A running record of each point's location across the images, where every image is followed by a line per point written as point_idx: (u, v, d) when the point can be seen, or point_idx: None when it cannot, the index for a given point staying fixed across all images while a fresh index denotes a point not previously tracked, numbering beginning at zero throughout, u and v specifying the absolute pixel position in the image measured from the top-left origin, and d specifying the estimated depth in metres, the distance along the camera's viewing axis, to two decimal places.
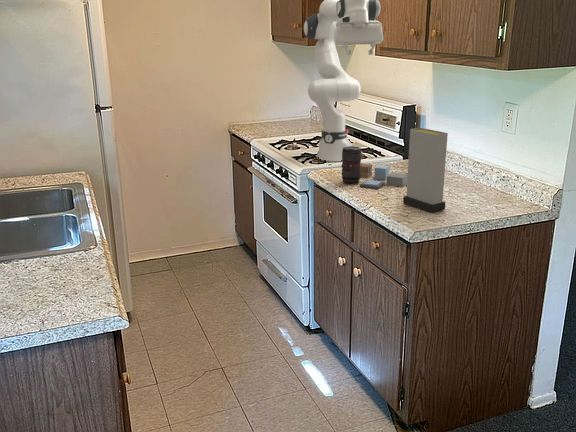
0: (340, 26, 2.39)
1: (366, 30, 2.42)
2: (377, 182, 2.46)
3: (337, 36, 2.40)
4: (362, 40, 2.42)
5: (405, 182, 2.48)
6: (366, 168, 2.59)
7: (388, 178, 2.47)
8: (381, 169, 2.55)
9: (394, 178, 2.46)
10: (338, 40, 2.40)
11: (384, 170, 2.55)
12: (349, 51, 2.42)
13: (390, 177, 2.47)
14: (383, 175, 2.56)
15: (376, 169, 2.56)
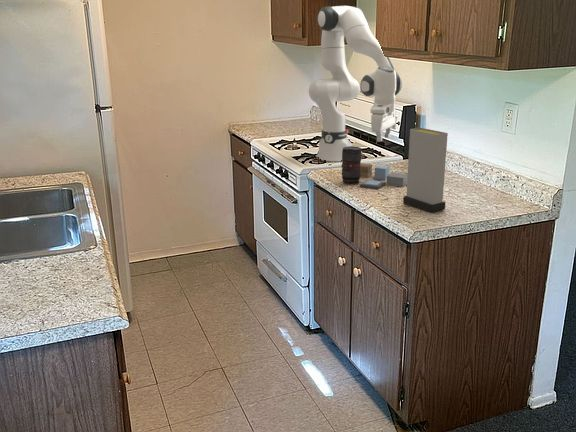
0: (383, 116, 2.42)
1: (390, 116, 2.52)
2: (377, 182, 2.46)
3: (380, 126, 2.42)
4: (388, 126, 2.52)
5: (405, 182, 2.48)
6: (366, 168, 2.59)
7: (388, 178, 2.47)
8: (381, 169, 2.55)
9: (394, 178, 2.46)
10: (380, 130, 2.43)
11: (384, 170, 2.55)
12: (381, 138, 2.49)
13: (390, 177, 2.47)
14: (383, 175, 2.56)
15: (376, 169, 2.56)
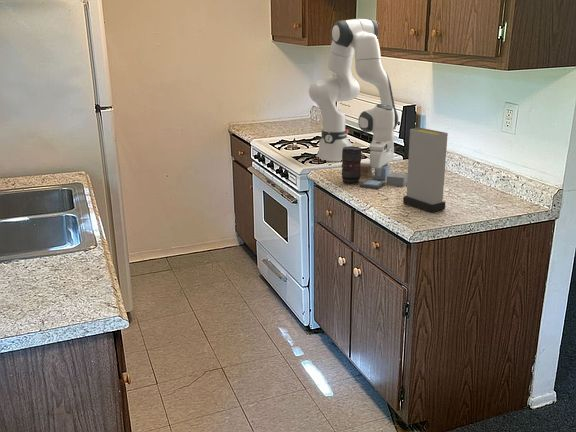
0: (381, 153, 2.47)
1: (388, 151, 2.57)
2: (377, 182, 2.46)
3: (379, 163, 2.47)
4: (387, 162, 2.57)
5: (405, 182, 2.49)
6: (366, 168, 2.59)
7: (388, 178, 2.47)
8: (381, 169, 2.55)
9: (395, 178, 2.46)
10: (378, 167, 2.48)
11: (384, 170, 2.55)
12: (381, 173, 2.55)
13: (390, 177, 2.47)
14: (383, 175, 2.56)
15: None
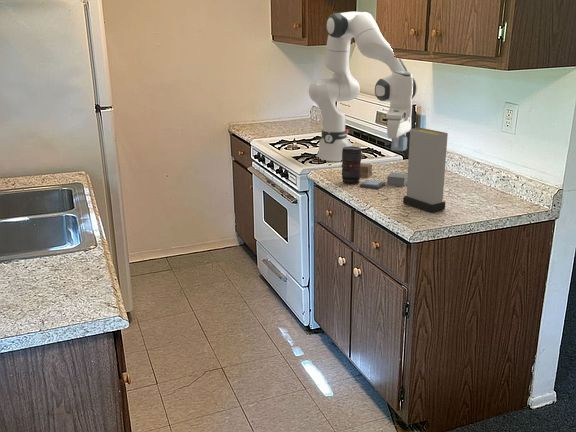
0: (399, 122, 2.33)
1: (406, 121, 2.44)
2: (377, 182, 2.46)
3: (396, 132, 2.34)
4: (404, 132, 2.43)
5: (405, 182, 2.49)
6: (366, 168, 2.59)
7: (389, 178, 2.47)
8: (399, 139, 2.41)
9: (395, 178, 2.46)
10: (396, 136, 2.35)
11: (402, 140, 2.41)
12: (398, 144, 2.41)
13: (390, 178, 2.47)
14: (401, 146, 2.42)
15: None
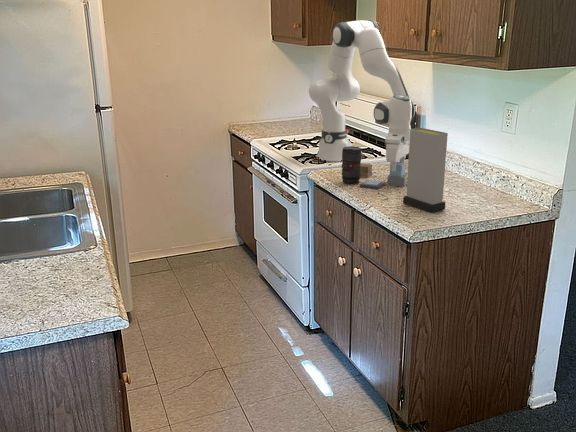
0: (398, 146, 2.36)
1: (404, 145, 2.47)
2: (377, 182, 2.46)
3: (395, 156, 2.37)
4: (403, 155, 2.46)
5: (405, 182, 2.49)
6: (366, 168, 2.59)
7: (389, 178, 2.47)
8: (397, 166, 2.45)
9: (395, 178, 2.46)
10: (395, 160, 2.38)
11: (400, 167, 2.45)
12: (396, 168, 2.43)
13: (391, 178, 2.46)
14: (399, 172, 2.45)
15: None
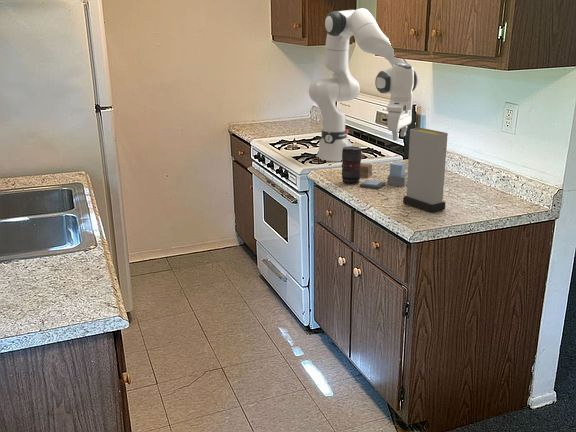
0: (400, 115, 2.32)
1: (406, 114, 2.43)
2: (377, 182, 2.46)
3: (397, 125, 2.33)
4: (405, 125, 2.42)
5: (405, 182, 2.49)
6: (366, 168, 2.59)
7: (389, 179, 2.47)
8: (397, 166, 2.45)
9: (395, 178, 2.46)
10: (396, 129, 2.34)
11: (400, 167, 2.44)
12: (397, 137, 2.39)
13: (391, 178, 2.46)
14: (399, 172, 2.45)
15: (392, 166, 2.46)
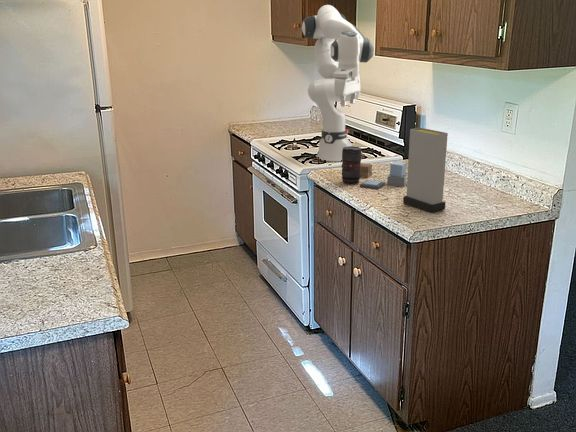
0: (346, 81, 2.43)
1: (354, 81, 2.54)
2: (377, 182, 2.46)
3: (343, 90, 2.44)
4: (353, 92, 2.53)
5: (405, 182, 2.49)
6: (366, 168, 2.59)
7: (389, 179, 2.47)
8: (397, 166, 2.45)
9: (395, 178, 2.46)
10: (343, 94, 2.45)
11: (400, 167, 2.44)
12: (345, 103, 2.50)
13: (391, 178, 2.46)
14: (399, 172, 2.45)
15: (392, 166, 2.46)
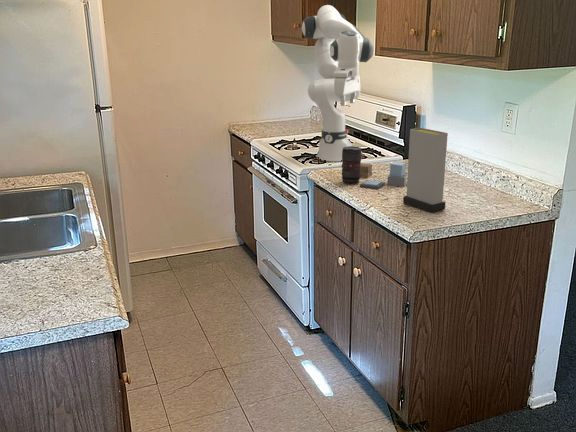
0: (346, 80, 2.43)
1: (354, 81, 2.54)
2: (377, 182, 2.46)
3: (343, 90, 2.44)
4: (352, 91, 2.53)
5: (405, 182, 2.49)
6: (366, 168, 2.59)
7: (389, 179, 2.47)
8: (397, 166, 2.45)
9: (395, 178, 2.46)
10: (343, 94, 2.45)
11: (400, 167, 2.44)
12: (345, 103, 2.50)
13: (391, 178, 2.46)
14: (399, 172, 2.45)
15: (392, 166, 2.46)
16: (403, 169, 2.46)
